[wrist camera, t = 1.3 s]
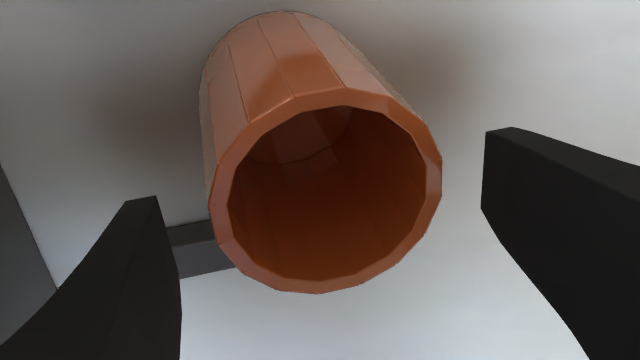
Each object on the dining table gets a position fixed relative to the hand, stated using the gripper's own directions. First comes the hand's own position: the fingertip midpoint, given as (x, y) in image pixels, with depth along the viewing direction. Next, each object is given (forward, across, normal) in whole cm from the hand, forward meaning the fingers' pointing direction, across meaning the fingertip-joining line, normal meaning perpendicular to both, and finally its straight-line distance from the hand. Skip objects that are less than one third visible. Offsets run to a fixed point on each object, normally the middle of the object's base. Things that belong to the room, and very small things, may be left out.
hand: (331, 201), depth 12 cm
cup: (+7, 0, 0) cm, 7 cm away
